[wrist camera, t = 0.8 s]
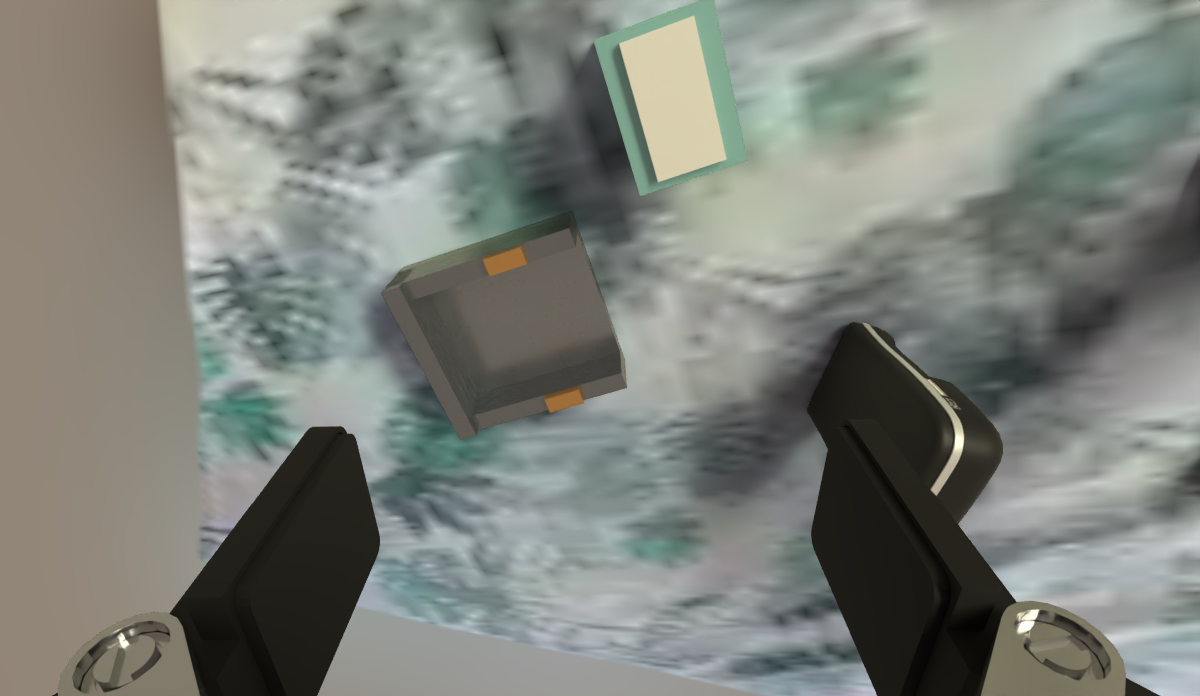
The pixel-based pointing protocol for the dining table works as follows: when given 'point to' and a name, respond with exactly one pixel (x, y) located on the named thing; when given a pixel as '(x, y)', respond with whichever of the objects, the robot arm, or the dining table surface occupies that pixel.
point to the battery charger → (909, 415)
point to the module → (673, 96)
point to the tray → (509, 326)
